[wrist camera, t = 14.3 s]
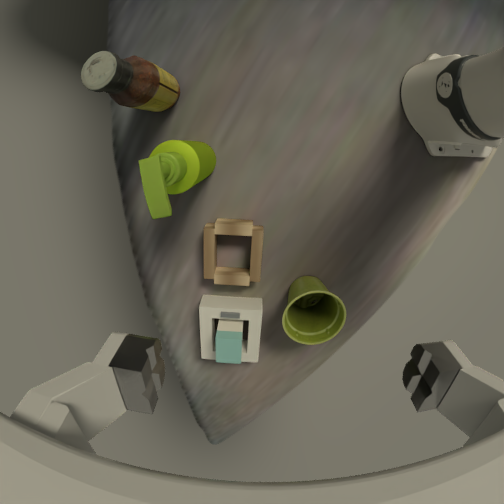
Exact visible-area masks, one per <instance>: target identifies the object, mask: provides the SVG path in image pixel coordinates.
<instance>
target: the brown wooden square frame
mask: <svg viewBox="0 0 504 504" xmlns="http://www.w3.org/2000/svg"><path fill="white" fill-rule="evenodd" d="M217 234H221V235H240V236H252V243H251V260H250V269H247V268H229V267H217ZM262 246H263V226H256V225H253V220H239V219H219V218H217V220H216V222H215V223H207V224H206V225H205V227H204V279H214V284H223V285H240V286H249V281H252V282H260V274H261V260H262Z"/></svg>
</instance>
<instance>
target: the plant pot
mask: <svg viewBox="0 0 504 504" xmlns="http://www.w3.org/2000/svg"><path fill="white" fill-rule="evenodd" d="M316 299H317V301H316V302H314V303H311V302H313V301H314V300H316ZM296 300H298V302H296ZM345 320H346V309H345V306H344V304H343V302H342V301H341V299H340V298H339V297H338V296H336V295H335V294H333V293H331V292H329V291H328V289H327V288H326V287H325V286H324V284H323V283H322V282H321V281H320V280H319V279H318V278H316V277H312V276H303V277H300V278H298V279H296V280H295V281H294V282H293V283H292V284H291V286H290V289H289V294H288V305H287V307H286V308H285V310H284V313H283V317H282V325H283V329H284V331H285V333H286V334H287V335H288V336H289V337H290V338H291V339H292V340H294V341H296V342H298V343H301V344H306V345H316V344H320V343H324V342H326V341H328V340H330V339H332V338H333V337H335V336H336V335H337V334H338V333H339V331H340V330H341V329H342V327H343V325H344V323H345Z"/></svg>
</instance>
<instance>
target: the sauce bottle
mask: <svg viewBox="0 0 504 504" xmlns="http://www.w3.org/2000/svg"><path fill="white" fill-rule="evenodd" d="M81 79H82V83H83V85H84V86H85V87H86V88H87V89H89V90H92V91H95V92H103V91H105V92H106V93H109V95H110V96H111V98H112V99H113V100H114V101H115V102H116V103H118V104H119V105H122V106H126V107H130V108H136V109H142V110H148V111H154V112H158V111H163V110H166V109H168V108H171V107H172V106H173V105H174V104H175V103H176V101H177V99H178V97H179V94H180V86H179V84H178V82H177V80H176V79H175V78H174V77H173V76H172V75H171V74H169V73H168V72H166V71H164V70H163V69H161V68H159V67H158V66H156V65H155V64H153V63H151V62H150V61H147V60H144V59H143V58H140V57H137V56H131V57H129V58H126V59H120V58H119V56H118V55H116V54H115V53H112V52H109V51H101V52H97V53H95V54H94V55H92V56H91V57H90V58H89V59H88V60H87V62H86V63H85V65H84V66H83V69H82V72H81Z"/></svg>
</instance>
